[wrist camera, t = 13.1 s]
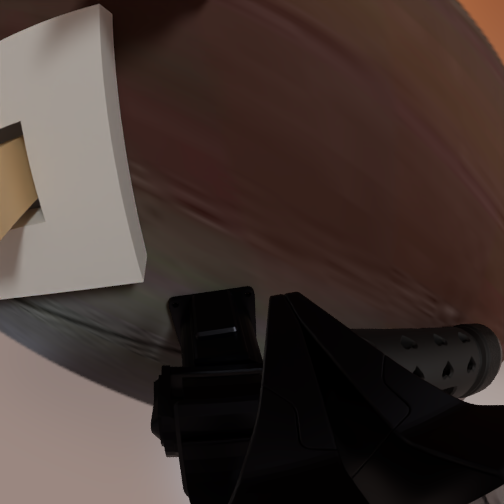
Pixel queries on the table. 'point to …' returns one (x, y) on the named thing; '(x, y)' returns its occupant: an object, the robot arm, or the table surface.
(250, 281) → the table surface
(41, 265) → the socket plate
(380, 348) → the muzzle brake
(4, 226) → the plug
